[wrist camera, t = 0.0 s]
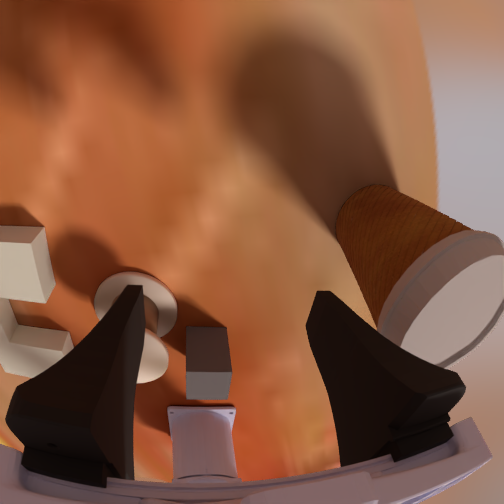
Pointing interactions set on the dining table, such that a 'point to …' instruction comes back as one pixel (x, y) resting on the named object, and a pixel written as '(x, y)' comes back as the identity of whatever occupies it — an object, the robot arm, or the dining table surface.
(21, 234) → the notch board
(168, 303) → the bobbin post
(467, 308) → the disposable coffee cup
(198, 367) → the block
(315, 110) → the dining table surface
